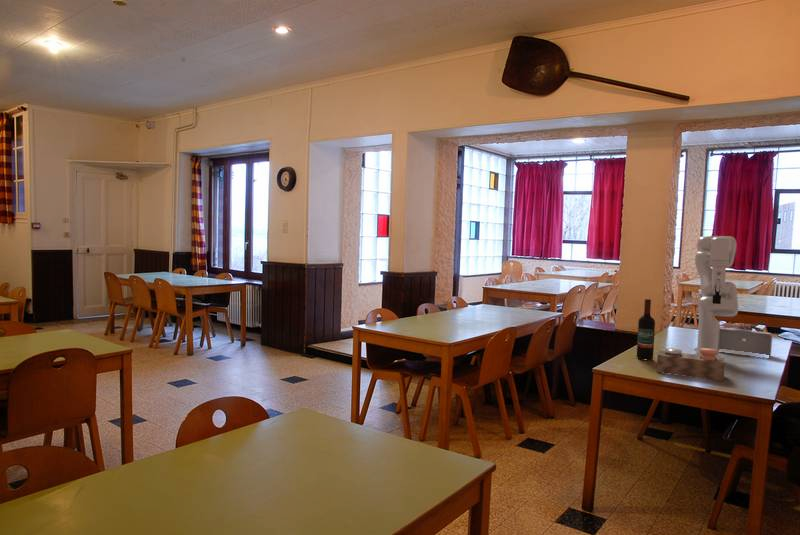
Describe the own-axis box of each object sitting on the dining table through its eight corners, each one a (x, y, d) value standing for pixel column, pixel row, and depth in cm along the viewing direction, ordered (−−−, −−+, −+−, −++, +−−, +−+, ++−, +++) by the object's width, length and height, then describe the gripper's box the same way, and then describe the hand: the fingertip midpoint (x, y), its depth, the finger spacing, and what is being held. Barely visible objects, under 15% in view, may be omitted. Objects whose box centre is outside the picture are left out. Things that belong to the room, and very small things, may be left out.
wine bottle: (655, 358, 269) (658, 299, 266) (650, 361, 263) (653, 301, 261) (639, 356, 274) (642, 298, 272) (634, 358, 268) (637, 299, 266)
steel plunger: (663, 368, 243) (664, 350, 242) (664, 365, 249) (665, 347, 248) (680, 371, 240) (681, 352, 239) (680, 367, 246) (682, 349, 245)
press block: (656, 372, 242) (657, 354, 242) (658, 367, 252) (659, 350, 251) (723, 381, 230) (724, 362, 229) (722, 375, 239) (723, 357, 239)
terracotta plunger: (699, 369, 236) (700, 350, 235) (699, 366, 242) (700, 347, 241) (716, 371, 233) (718, 352, 232) (716, 368, 239) (717, 349, 238)
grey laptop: (771, 354, 286) (773, 331, 285) (770, 359, 273) (771, 335, 272) (717, 347, 301) (718, 325, 300) (713, 352, 288) (715, 329, 287)
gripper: (729, 265, 238) (726, 306, 239) (727, 263, 251) (725, 302, 252) (709, 264, 242) (707, 304, 243) (709, 263, 255) (706, 301, 256)
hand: (716, 303), depth 248 cm, fingers closed
